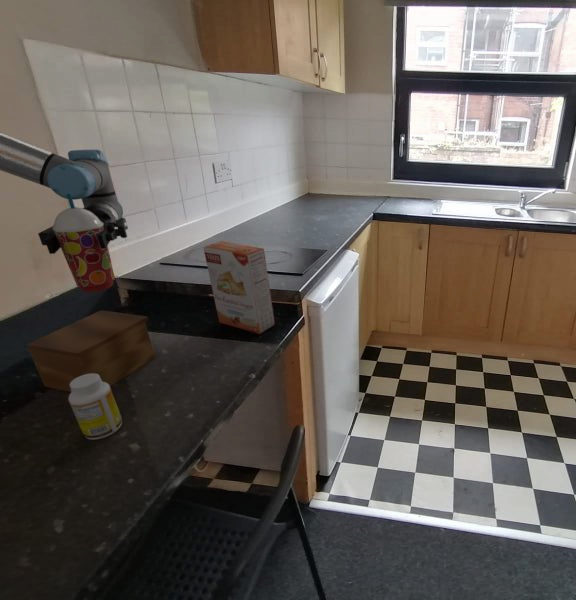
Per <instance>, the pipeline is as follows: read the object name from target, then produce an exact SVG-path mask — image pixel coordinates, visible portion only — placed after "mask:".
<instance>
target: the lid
mask: <svg viewBox="0 0 576 600" xmlns="http://www.w3.org/2000/svg"><path fill="white" fill-rule="evenodd" d="M148 321H149V317H148V316H145V315H137V314H131V313H124V312H118V311H117V312H115V311H109V310H102V309H101V310H99V311H96V312H95V313H91V314H90V315H88V316H86V317H83V318H81V319H79V320H76V321H75V322H72V323H71V324H68V325H66V326H64V327H61V328H59V329H56V330H55V331H53V332H51V333H48V334H46V335H44V336H42V337H40V338H38V339H35V340H33V341H31V342H29V343H27V344H26V348H27V349H35V350H41V351H47V352H52V353H58V354H64V355H70V356H76V357H81V356H83V355H85V354H87V353H89V352H91V351H92V350H94V349H96V348H98V347H100V346H102V345H103V344H105V343H107V342H109V341H111V340H113V339H115V338H116V337H118V336H120V335H122V334H124V333H126V332H127V331H129V330H131V329H133V328H135V327H137V326H138V325H140V324H142V323H144V322H145V323H147V322H148Z"/></svg>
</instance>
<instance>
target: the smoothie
mask: <svg viewBox="0 0 576 600" xmlns="http://www.w3.org/2000/svg"><path fill="white" fill-rule="evenodd" d="M67 197H68V199H67V200H68V204H69V206H70V207H67V208H66V209H64V210H62V211H60V212H59V213H58V214H57V215H56V217H55V218H54V221H53V222H54V223H53V226H54V227H52V226H51V227H52V229H53V231H54V232H55V235H56V237H57V240H58V242H59V244H60V247H61V248H60V249H61V252H62V254H63V256H64V258H65V261H66V263H67V266H68V268H69V270H70V273H71V276H72V278H73V280H74V282H75V285H76V286H77V287H79V288H80V290H81V291H82V292H85V293H97V292H102V291H104V290H107V289H110V288H111V287H113V285H114V281H115V279H116V278H115V274H114V269H113V264H112V259H111V254H110V249H109V244H108V245H107V247H106V248H103V249H101V246H100V243H99V240H98V236H97V235H98V234H99V233H100V232H102V231H103V230H104V226H103V225H104V224H103V222H101V221H100V220H99V219H98V218H97V217H96V215H94V214H93V213H92V212H90V211H88V210H86V209H83V208H84V207H78V206H77V207H76V206H75V203H74V200H72V196H71V194H67Z"/></svg>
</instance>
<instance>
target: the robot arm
mask: <svg viewBox="0 0 576 600" xmlns="http://www.w3.org/2000/svg"><path fill="white" fill-rule="evenodd" d="M67 157H68V158H67ZM67 157H64V156H61V155H59V154H56V153H54V152H52V151H49V150H46V149H44V148H41V147H39V146H37V145H33V144H31V143H29V142H26V141H25V140H22V139H21V140H20V139H19V138H16V137H13V136H11V135H8V134H6V133H4V132H1V131H0V171H2V172H4V173H7V174H10V175H11V176H15V177H18V178H20V179H24V180H27V181H29V182H33V183H35V184H38V185H40V186H43V187H46V188H48V189H51V191H52V192H53V193H54V194H56V195H58V196H59V197H61V198H63V199H65V200H68V197H67V194H71V196H72V200H73V201H74V200H75V201H76V200H81V201H82V205H83V207H82V208H83V209H86V210H88V211H90V212H92V213H93V214H94V215H96V217H97V218H98V219H99V220H100V221H101V222H103V224H104V225H103V226H104V230H103V231H102V232H100V233H99V234H98V235H97V236H98V240H99V243H100V246H101V249H103V248H106V247H107V245H108V246H109V244H110V242H111V241H114V240H117V239H118V237H120V238H121V239H125V238H128V234H127V231H126V230H128V229H129V227H128V223H127V220H126V218H125V217H123V215H124V208H123V206H122V204H121V203H120V202H119V200H118V196H117V193H116V190H115V187H114V183H113V182H114V181H113V179H112V175H111V172H110V168H109V162H108V160H107V158H106V155H105V153H104V151H102V150H100V149H74V150H69V151H68V152H67ZM52 227H54V225H52V226H50V227H48V228H46V229H44V230H42V231H40V232H37V234H38V238H39V240H40V243H41V245H42V246H46V248H47V250H48V253H49V255H54V254H56V253H57V252H58V251H59V250H60V249H61V247H60V244H59V242H58V240H57V237H56V235H55V232H54V231H53V229H52Z"/></svg>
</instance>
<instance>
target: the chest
mask: <svg viewBox="0 0 576 600" xmlns="http://www.w3.org/2000/svg"><path fill="white" fill-rule="evenodd" d="M27 349H28V353H29V354H30V356H31V358H32V361H33V363H34V365H35V368H36V370H37V373H38V375H39V377H40V379H41V381H42V384H43V386H44V387H45V388H48V389H49V388H50V389H54V390H60V391H64V392H68V393H71V388H70V383H71V381H73V380H74V379H75V378H77V377H79V376H82V375H86V374H92V373H94V374H98V375H99V376H100V378H101V380H102V382H106V383H108V384H109V386H110V388H111V387H113V386H114V385H116V384H118V382H120V381H121V380H123V379H124V378H126V377H128V376H129V375H131V374H132V373H134V372H135V371H137V370H139V367H140V368H141V367H143V366H144V365H146V364H147V363H149V362H150V361H152V360H153V359H155V358H156V355H155V352H154V347H153V344H152V341H151V338H150V334H149V331H148V327H147V324H146V322H144V323H142V324H140V325H138V326H137V327H135V328H133V329H131V330H129V331H127V332H126V333H124V334H122V335H120V336H118V337H116V338H115V339H113V340H111V341H109V342H107V343H105V344H103V345H102V346H100V347H98V348H96V349H94V350H92V351H91V352H89V353H87V354H85V355H83V356H81V357H76V356H70V355H64V354H58V353H52V352H47V351H41V350H35V349H29V348H27ZM154 357H155V358H154ZM151 359H152V360H151ZM148 361H149V362H148Z"/></svg>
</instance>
